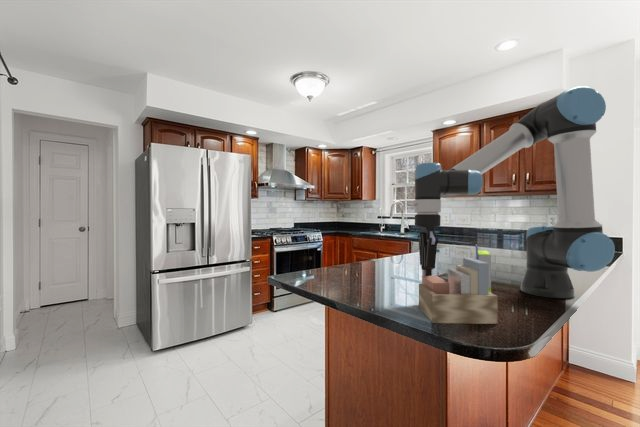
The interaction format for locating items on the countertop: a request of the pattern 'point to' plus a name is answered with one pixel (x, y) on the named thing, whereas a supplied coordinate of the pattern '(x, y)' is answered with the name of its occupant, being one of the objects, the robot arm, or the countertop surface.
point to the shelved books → (476, 275)
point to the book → (436, 284)
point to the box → (486, 258)
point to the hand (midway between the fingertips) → (427, 290)
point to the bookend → (458, 282)
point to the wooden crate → (458, 307)
